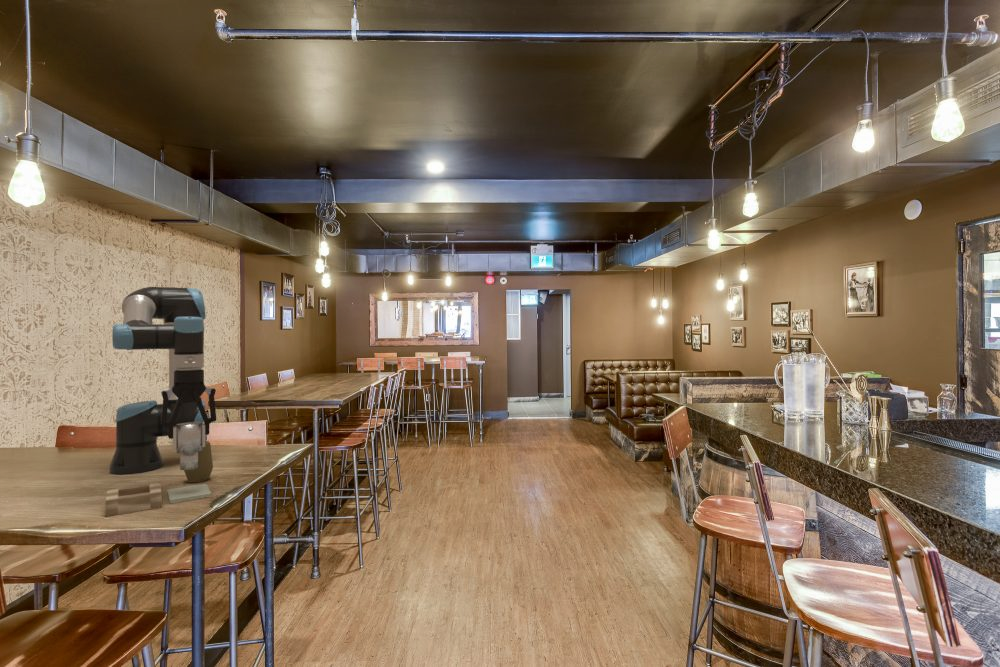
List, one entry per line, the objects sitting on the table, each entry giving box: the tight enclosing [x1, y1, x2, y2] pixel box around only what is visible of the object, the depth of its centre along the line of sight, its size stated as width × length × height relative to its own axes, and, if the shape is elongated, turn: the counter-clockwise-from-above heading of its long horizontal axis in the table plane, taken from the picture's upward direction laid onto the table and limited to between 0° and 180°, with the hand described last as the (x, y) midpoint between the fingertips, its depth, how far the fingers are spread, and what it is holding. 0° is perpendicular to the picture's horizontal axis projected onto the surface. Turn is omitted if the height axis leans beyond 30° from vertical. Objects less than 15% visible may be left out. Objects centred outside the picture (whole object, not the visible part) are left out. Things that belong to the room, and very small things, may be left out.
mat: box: [166, 483, 212, 504], centre depth 147 cm, size 12×10×1 cm
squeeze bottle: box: [183, 435, 214, 483], centre depth 162 cm, size 8×8×18 cm
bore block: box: [105, 481, 163, 517], centre depth 138 cm, size 12×12×4 cm
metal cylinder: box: [175, 422, 202, 471], centre depth 147 cm, size 6×6×13 cm
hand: (189, 447), depth 147 cm, fingers closed on metal cylinder, 6 cm apart
